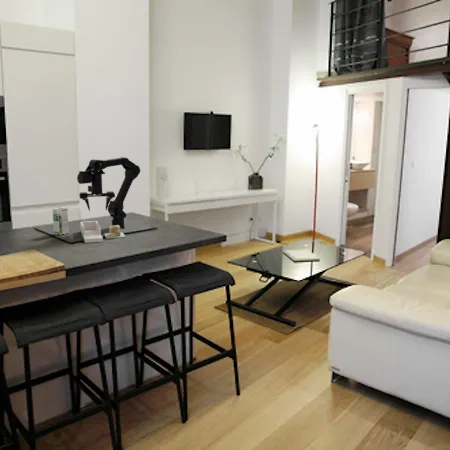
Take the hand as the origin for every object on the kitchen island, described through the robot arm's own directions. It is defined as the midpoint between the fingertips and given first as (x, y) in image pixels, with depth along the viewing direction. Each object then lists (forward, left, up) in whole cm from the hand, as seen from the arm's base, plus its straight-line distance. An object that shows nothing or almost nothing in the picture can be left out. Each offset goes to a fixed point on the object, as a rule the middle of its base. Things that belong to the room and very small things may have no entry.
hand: (97, 210), depth 261 cm
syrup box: (+20, +1, -12) cm, 23 cm away
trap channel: (+5, +12, -12) cm, 17 cm away
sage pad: (-7, +14, -12) cm, 20 cm away
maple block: (-7, +15, -12) cm, 20 cm away
